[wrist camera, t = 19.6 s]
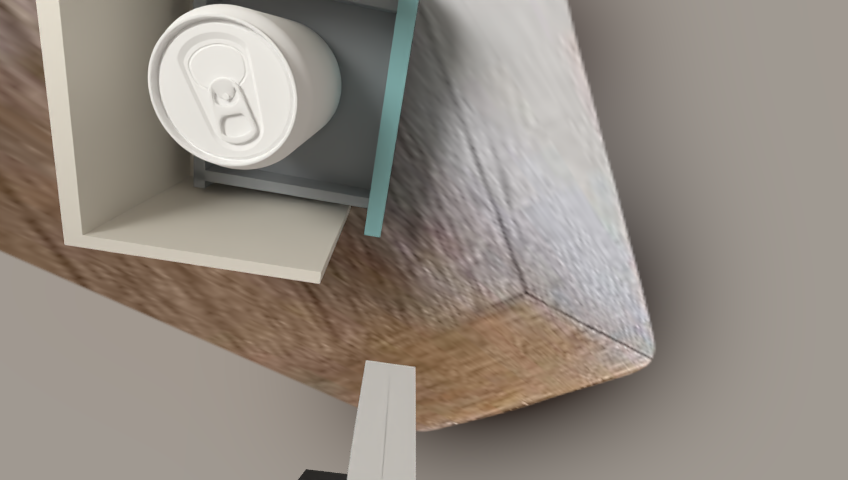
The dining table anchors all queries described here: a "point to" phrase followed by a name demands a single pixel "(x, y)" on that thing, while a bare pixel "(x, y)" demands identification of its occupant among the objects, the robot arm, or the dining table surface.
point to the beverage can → (242, 85)
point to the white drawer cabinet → (156, 157)
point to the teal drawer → (341, 106)
